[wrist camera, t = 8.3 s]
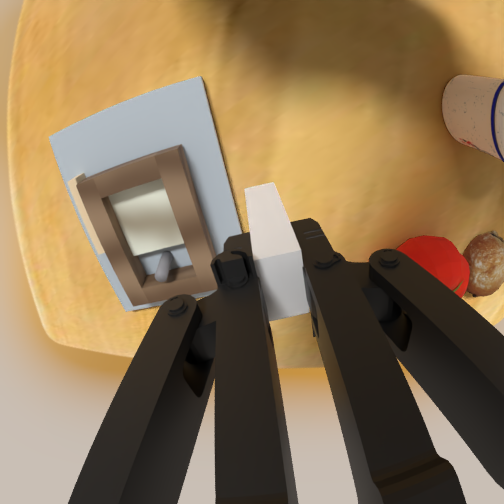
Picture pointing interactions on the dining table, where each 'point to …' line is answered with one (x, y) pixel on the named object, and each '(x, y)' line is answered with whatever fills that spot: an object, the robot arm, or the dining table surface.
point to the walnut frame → (150, 223)
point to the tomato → (439, 260)
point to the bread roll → (485, 264)
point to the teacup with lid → (476, 112)
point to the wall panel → (143, 143)
